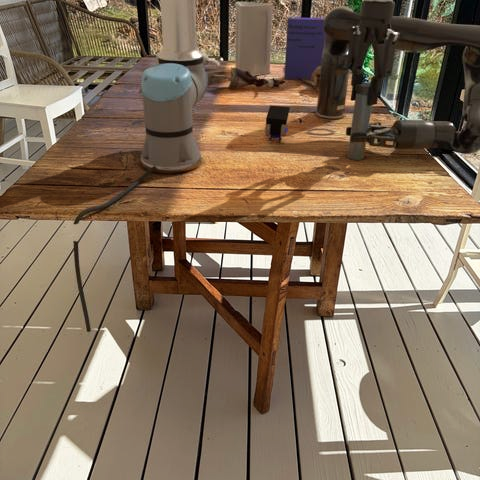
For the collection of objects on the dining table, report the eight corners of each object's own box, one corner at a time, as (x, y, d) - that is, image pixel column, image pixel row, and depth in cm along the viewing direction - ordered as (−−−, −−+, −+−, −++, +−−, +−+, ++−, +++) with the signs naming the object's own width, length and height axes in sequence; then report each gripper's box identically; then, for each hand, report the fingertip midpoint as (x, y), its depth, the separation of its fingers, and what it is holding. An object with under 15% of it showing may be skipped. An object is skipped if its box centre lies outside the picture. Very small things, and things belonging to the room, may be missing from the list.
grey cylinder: (355, 161, 126) (365, 90, 116) (343, 155, 129) (353, 86, 120) (367, 158, 128) (378, 88, 118) (355, 153, 131) (365, 84, 122)
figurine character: (286, 149, 136) (289, 127, 148) (287, 124, 131) (290, 104, 143) (262, 148, 137) (267, 126, 149) (263, 123, 132) (268, 103, 144)
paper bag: (273, 76, 210) (276, 6, 196) (239, 77, 209) (240, 6, 194) (266, 67, 226) (268, 2, 212) (235, 67, 225) (235, 1, 210)
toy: (175, 75, 210) (174, 58, 206) (151, 64, 228) (150, 49, 224) (222, 69, 222) (222, 53, 218) (195, 59, 239) (195, 45, 236)
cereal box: (323, 77, 210) (330, 17, 198) (324, 80, 206) (331, 19, 193) (284, 76, 211) (287, 16, 198) (284, 78, 207) (288, 18, 194)
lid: (371, 88, 122) (372, 81, 121) (378, 93, 118) (379, 86, 117) (352, 89, 121) (353, 82, 121) (358, 94, 117) (359, 87, 116)
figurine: (210, 87, 179) (288, 95, 182) (212, 65, 176) (291, 73, 180) (208, 84, 201) (278, 91, 205) (210, 64, 198) (280, 71, 202)
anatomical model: (320, 94, 199) (320, 96, 185) (305, 80, 198) (304, 80, 184) (342, 71, 195) (344, 70, 181) (327, 56, 194) (328, 54, 180)
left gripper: (338, -3, 113) (327, 96, 125) (400, 3, 101) (381, 113, 113) (360, -4, 117) (347, 92, 129) (421, 2, 105) (401, 108, 117)
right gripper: (418, 158, 122) (352, 157, 121) (401, 139, 134) (341, 139, 133) (425, 129, 118) (356, 129, 117) (406, 112, 130) (344, 112, 129)
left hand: (363, 101), depth 121 cm, fingers closed on lid, 5 cm apart
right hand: (348, 134), depth 125 cm, fingers closed on grey cylinder, 4 cm apart
